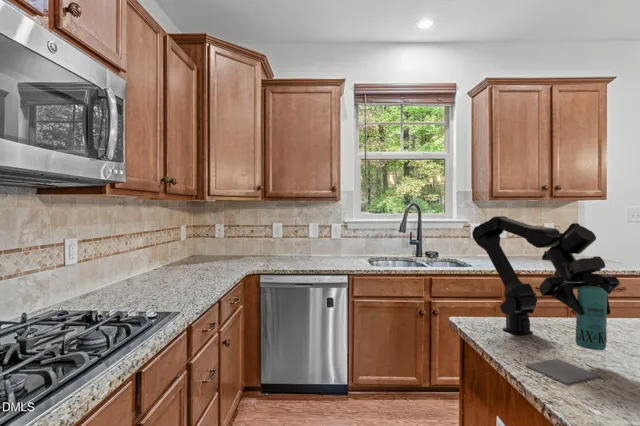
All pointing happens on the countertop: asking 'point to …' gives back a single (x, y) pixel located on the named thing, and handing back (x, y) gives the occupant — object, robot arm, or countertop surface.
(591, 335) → the beverage bottle
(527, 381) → the countertop surface
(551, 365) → the mat
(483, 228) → the robot arm
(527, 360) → the countertop surface
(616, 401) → the countertop surface
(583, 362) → the countertop surface
